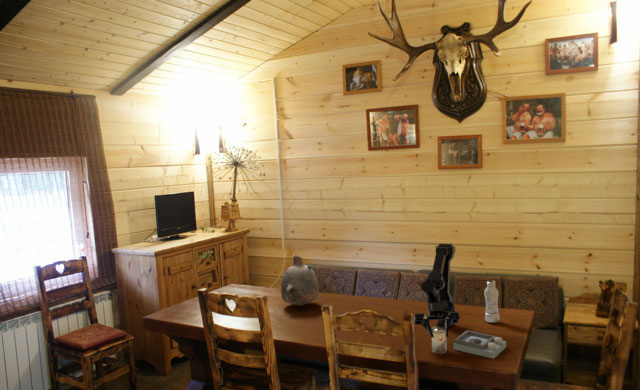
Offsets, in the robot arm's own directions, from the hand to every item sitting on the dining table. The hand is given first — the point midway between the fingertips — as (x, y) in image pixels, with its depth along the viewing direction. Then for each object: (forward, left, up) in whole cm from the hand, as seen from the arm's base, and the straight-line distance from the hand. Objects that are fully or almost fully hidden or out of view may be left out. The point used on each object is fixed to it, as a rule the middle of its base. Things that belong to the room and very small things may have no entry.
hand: (439, 337), depth 198 cm
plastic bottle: (+4, +46, -7) cm, 47 cm away
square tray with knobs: (+12, +13, -7) cm, 19 cm away
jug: (-94, +15, -7) cm, 95 cm away
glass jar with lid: (0, 0, -7) cm, 7 cm away
